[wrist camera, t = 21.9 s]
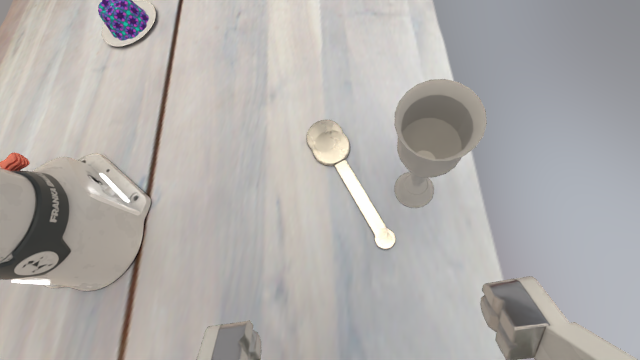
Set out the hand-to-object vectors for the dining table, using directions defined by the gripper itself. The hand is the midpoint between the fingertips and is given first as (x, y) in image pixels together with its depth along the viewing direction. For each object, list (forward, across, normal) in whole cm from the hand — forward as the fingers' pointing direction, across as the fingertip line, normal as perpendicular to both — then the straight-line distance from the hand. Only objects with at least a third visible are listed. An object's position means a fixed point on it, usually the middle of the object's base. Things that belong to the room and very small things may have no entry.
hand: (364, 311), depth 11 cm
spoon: (+29, -1, +14) cm, 32 cm away
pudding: (+64, +36, -9) cm, 74 cm away
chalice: (+26, -9, +16) cm, 32 cm away
